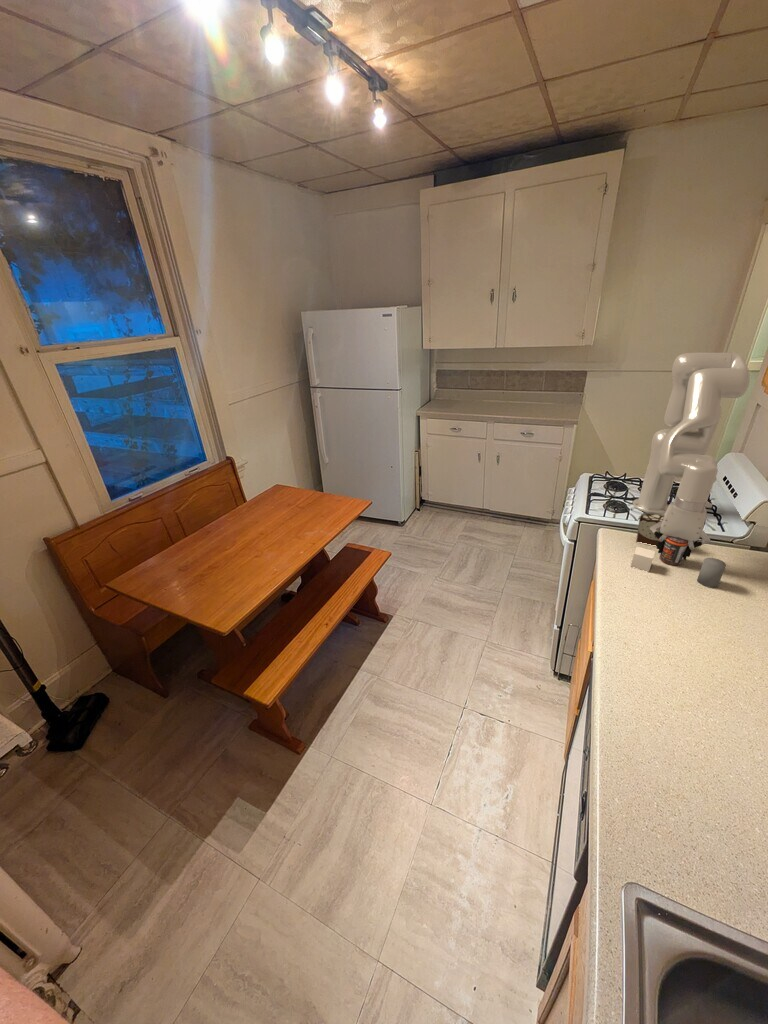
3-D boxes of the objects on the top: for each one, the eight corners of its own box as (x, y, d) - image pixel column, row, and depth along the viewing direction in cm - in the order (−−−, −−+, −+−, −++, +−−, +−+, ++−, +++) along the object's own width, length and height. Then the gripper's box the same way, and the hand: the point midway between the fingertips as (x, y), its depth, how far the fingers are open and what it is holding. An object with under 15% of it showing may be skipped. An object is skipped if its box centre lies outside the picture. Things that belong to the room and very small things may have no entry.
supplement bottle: (654, 558, 130) (664, 528, 125) (666, 553, 132) (676, 523, 127) (673, 568, 125) (684, 536, 120) (685, 562, 127) (696, 531, 122)
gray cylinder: (697, 575, 122) (704, 555, 118) (718, 580, 119) (725, 560, 116) (697, 584, 118) (704, 564, 115) (718, 589, 115) (726, 569, 112)
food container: (673, 542, 138) (682, 516, 134) (673, 550, 134) (682, 524, 129) (632, 533, 144) (639, 508, 140) (631, 541, 140) (638, 515, 135)
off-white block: (632, 559, 130) (636, 546, 128) (650, 564, 127) (655, 551, 125) (630, 567, 127) (634, 553, 124) (648, 572, 124) (653, 558, 122)
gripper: (726, 505, 117) (706, 557, 126) (657, 492, 127) (642, 541, 135) (726, 515, 112) (704, 568, 120) (653, 501, 122) (638, 551, 130)
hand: (672, 553), depth 128 cm, fingers closed on supplement bottle, 6 cm apart
